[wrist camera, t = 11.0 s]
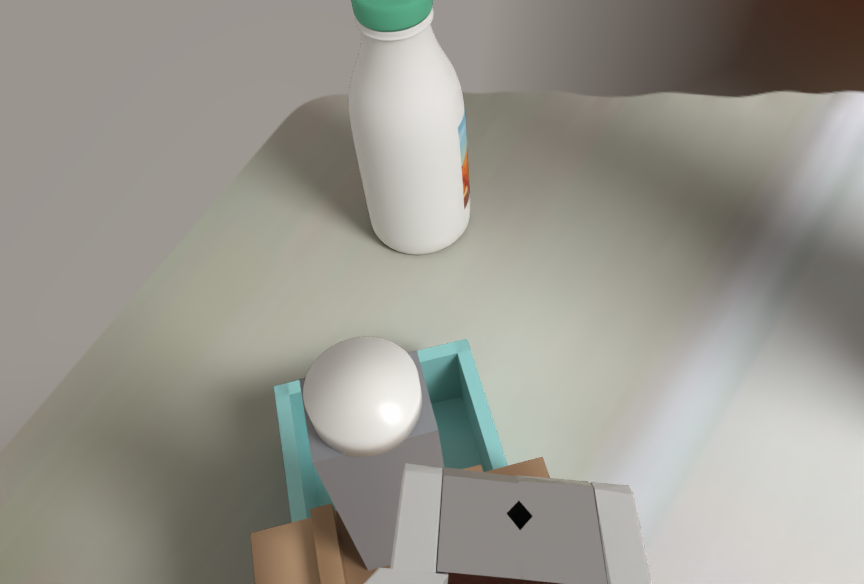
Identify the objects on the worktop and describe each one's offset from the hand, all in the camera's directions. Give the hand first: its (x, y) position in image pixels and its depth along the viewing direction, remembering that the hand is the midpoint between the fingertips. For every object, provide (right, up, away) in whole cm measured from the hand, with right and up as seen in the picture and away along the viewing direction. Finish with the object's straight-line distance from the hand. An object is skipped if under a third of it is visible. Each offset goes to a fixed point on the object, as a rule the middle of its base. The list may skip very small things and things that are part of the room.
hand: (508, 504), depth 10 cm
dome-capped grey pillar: (-2, -8, +24) cm, 25 cm away
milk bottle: (-2, +8, +48) cm, 49 cm away
